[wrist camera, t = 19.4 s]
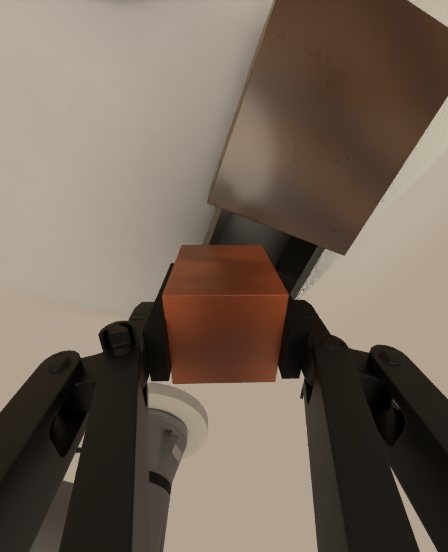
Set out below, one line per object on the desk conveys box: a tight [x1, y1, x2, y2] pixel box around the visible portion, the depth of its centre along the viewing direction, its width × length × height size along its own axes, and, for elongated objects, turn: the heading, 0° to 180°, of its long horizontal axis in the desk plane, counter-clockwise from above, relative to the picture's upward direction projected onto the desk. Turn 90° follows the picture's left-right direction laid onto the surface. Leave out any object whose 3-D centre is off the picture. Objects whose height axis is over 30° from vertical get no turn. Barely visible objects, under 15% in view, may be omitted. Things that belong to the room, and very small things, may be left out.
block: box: [162, 245, 289, 384], centre depth 13 cm, size 5×5×6 cm
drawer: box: [203, 207, 325, 300], centre depth 26 cm, size 21×11×8 cm, turn 159°
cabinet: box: [208, 0, 448, 255], centre depth 20 cm, size 15×13×10 cm
